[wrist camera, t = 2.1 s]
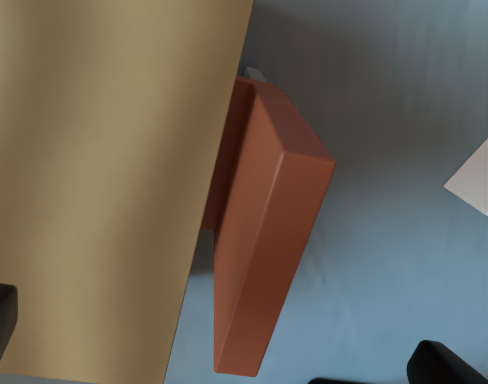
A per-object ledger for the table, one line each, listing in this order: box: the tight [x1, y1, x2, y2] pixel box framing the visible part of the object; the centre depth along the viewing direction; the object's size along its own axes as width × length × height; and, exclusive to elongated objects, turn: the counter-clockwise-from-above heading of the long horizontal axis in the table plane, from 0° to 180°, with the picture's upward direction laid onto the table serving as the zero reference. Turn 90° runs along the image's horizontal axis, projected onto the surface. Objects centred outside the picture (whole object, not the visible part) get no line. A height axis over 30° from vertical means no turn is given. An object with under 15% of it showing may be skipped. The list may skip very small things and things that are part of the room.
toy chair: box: [200, 66, 336, 377], centre depth 14 cm, size 6×6×12 cm
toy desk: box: [0, 0, 255, 384], centre depth 16 cm, size 12×16×8 cm
